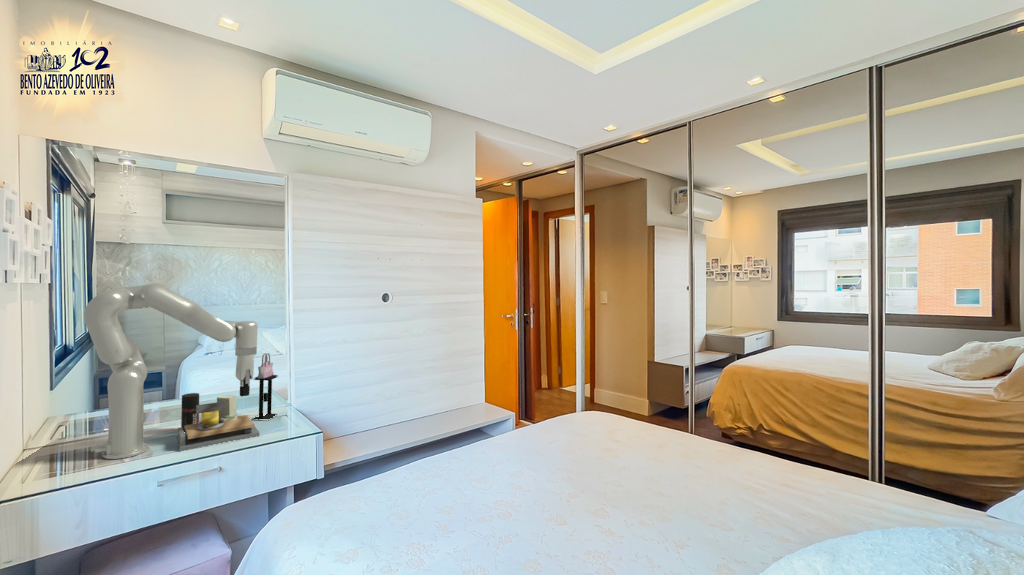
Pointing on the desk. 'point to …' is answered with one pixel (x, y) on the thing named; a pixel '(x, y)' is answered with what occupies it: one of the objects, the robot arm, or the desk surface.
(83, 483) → the desk surface
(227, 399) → the skincare box
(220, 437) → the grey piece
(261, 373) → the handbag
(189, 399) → the deodorant
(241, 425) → the level plate
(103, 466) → the desk surface
